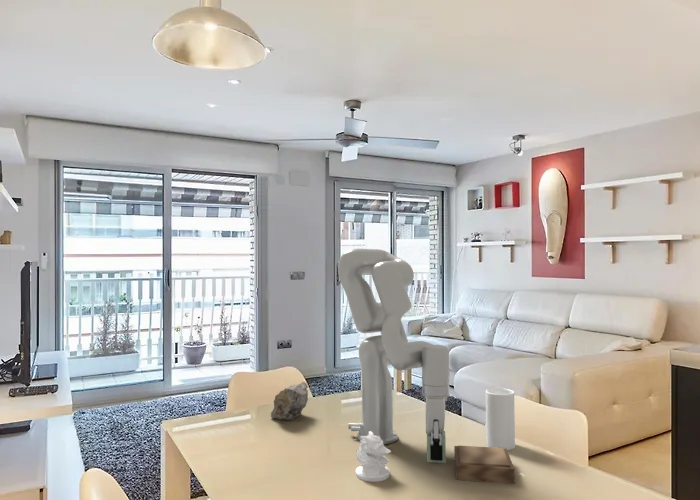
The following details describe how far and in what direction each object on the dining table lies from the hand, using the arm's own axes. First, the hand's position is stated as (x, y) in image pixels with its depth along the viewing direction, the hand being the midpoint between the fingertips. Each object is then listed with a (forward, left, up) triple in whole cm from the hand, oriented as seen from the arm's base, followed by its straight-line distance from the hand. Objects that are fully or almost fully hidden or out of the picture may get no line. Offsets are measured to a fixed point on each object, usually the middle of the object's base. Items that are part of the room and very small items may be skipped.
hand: (436, 455), depth 139 cm
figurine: (-16, -13, -1) cm, 21 cm away
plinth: (+12, -6, -1) cm, 13 cm away
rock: (-51, +30, -1) cm, 59 cm away
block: (0, 0, -1) cm, 1 cm away
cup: (+19, +14, -1) cm, 24 cm away
